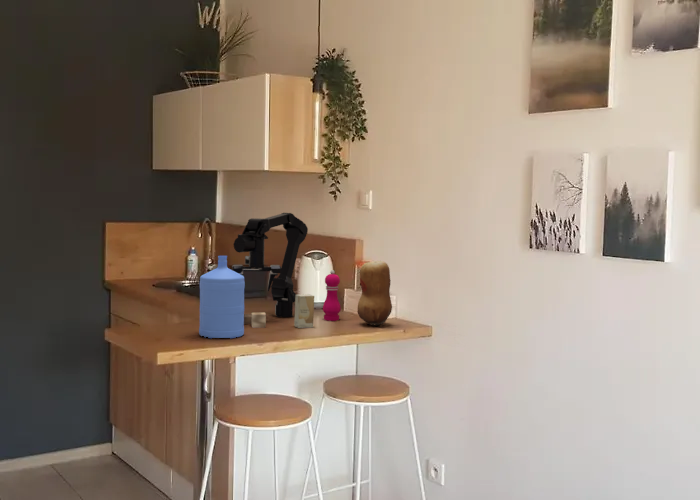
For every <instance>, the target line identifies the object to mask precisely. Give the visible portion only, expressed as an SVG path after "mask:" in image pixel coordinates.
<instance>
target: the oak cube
mask: <svg viewBox="0 0 700 500" xmlns="http://www.w3.org/2000/svg"><path fill="white" fill-rule="evenodd" d="M251 314H252V324H251V328H256V329H258V328H260V329H261V328H266V327H267V323H266V322H267V314H266V312H262V311H261V312H251Z"/></svg>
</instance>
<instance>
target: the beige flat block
mask: <svg viewBox="0 0 700 500" xmlns="http://www.w3.org/2000/svg"><path fill="white" fill-rule="evenodd" d="M244 325H252V313H244Z"/></svg>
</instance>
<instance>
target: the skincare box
mask: <svg viewBox="0 0 700 500" xmlns="http://www.w3.org/2000/svg"><path fill="white" fill-rule="evenodd" d="M294 304H295V305H294V322H293V324H294V325H293V326H294V327H295V328H298V329H304V328H305V329H306V328H314V317H315V316H314V315H315V314H314V313H315V295H313V294H309V293H307V294H304V293H303V294H296V298H295V302H294Z"/></svg>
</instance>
